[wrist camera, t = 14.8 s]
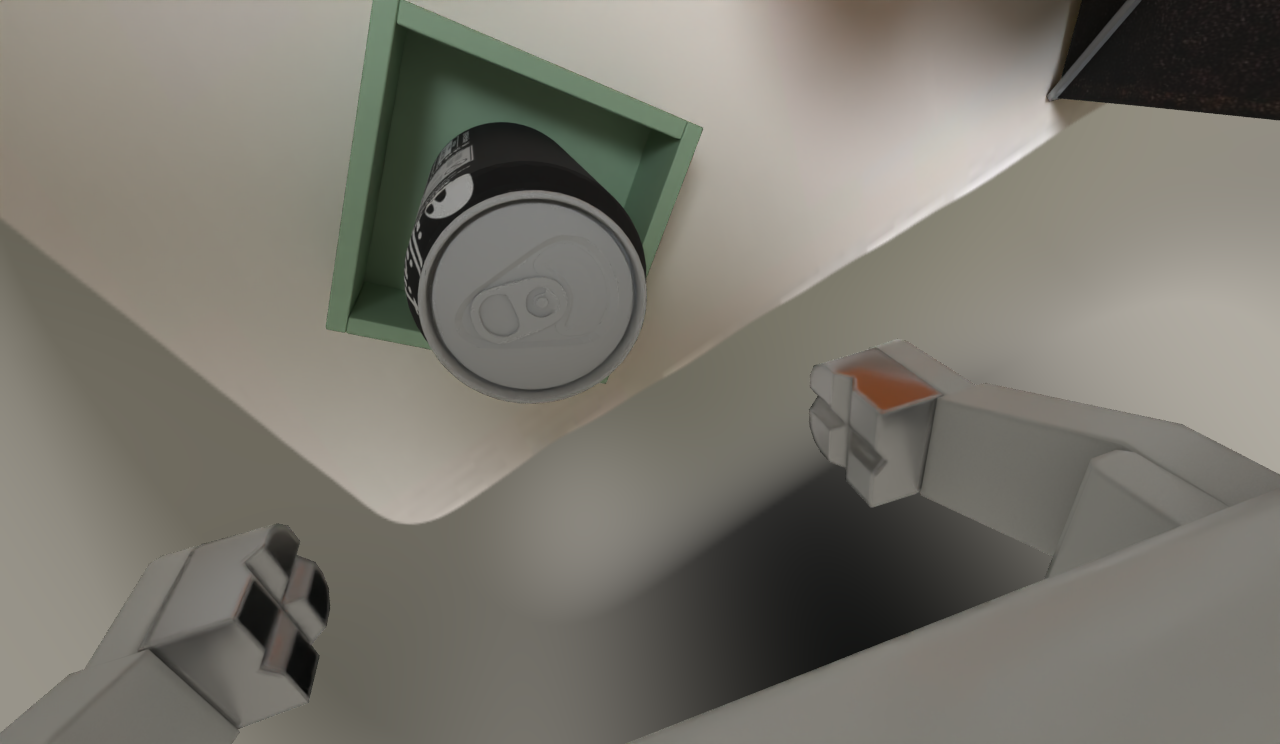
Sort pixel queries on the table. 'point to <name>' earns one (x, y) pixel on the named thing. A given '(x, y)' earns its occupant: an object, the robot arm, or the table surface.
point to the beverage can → (523, 267)
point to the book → (1177, 56)
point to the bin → (454, 102)
